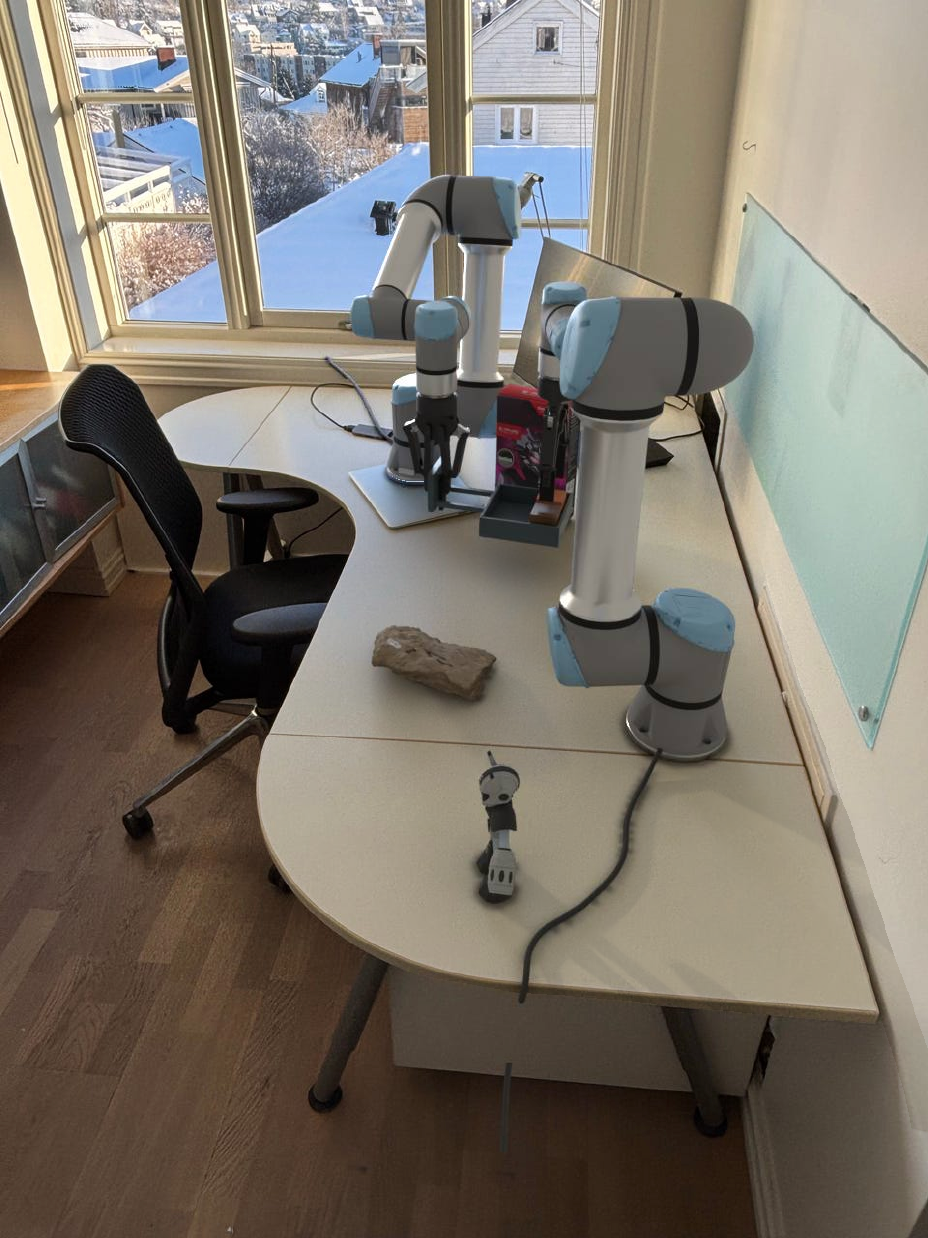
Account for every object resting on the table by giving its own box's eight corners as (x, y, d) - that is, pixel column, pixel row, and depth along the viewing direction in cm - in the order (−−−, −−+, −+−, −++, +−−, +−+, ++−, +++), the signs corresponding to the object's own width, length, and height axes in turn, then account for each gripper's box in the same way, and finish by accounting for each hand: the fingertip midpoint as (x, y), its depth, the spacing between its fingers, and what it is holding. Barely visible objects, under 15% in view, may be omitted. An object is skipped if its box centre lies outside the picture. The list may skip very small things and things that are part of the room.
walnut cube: (528, 537, 173) (530, 514, 170) (533, 525, 177) (535, 502, 174) (554, 541, 172) (556, 517, 169) (559, 529, 176) (561, 505, 173)
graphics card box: (491, 511, 204) (494, 391, 189) (505, 498, 209) (509, 381, 194) (563, 528, 197) (572, 406, 182) (575, 515, 202) (585, 395, 187)
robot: (522, 941, 111) (530, 823, 99) (481, 942, 110) (485, 824, 99) (507, 820, 127) (513, 708, 116) (472, 821, 127) (474, 708, 115)
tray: (571, 511, 183) (576, 465, 178) (557, 547, 171) (561, 499, 165) (445, 494, 189) (445, 448, 183) (423, 528, 177) (422, 480, 171)
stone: (347, 674, 149) (354, 641, 146) (379, 641, 162) (386, 611, 160) (469, 718, 145) (478, 685, 143) (492, 681, 159) (500, 650, 156)
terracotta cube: (534, 522, 178) (536, 498, 175) (539, 510, 182) (541, 487, 179) (560, 525, 177) (562, 502, 174) (564, 514, 181) (566, 490, 178)
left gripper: (479, 388, 170) (477, 503, 183) (406, 380, 173) (409, 494, 186) (469, 402, 164) (467, 520, 177) (393, 394, 167) (397, 510, 180)
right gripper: (569, 398, 154) (560, 517, 166) (590, 356, 172) (580, 467, 184) (525, 393, 155) (519, 512, 168) (550, 353, 173) (543, 462, 186)
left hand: (437, 506), depth 182 cm, fingers closed on tray
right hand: (551, 488), depth 176 cm, fingers open, 10 cm apart
